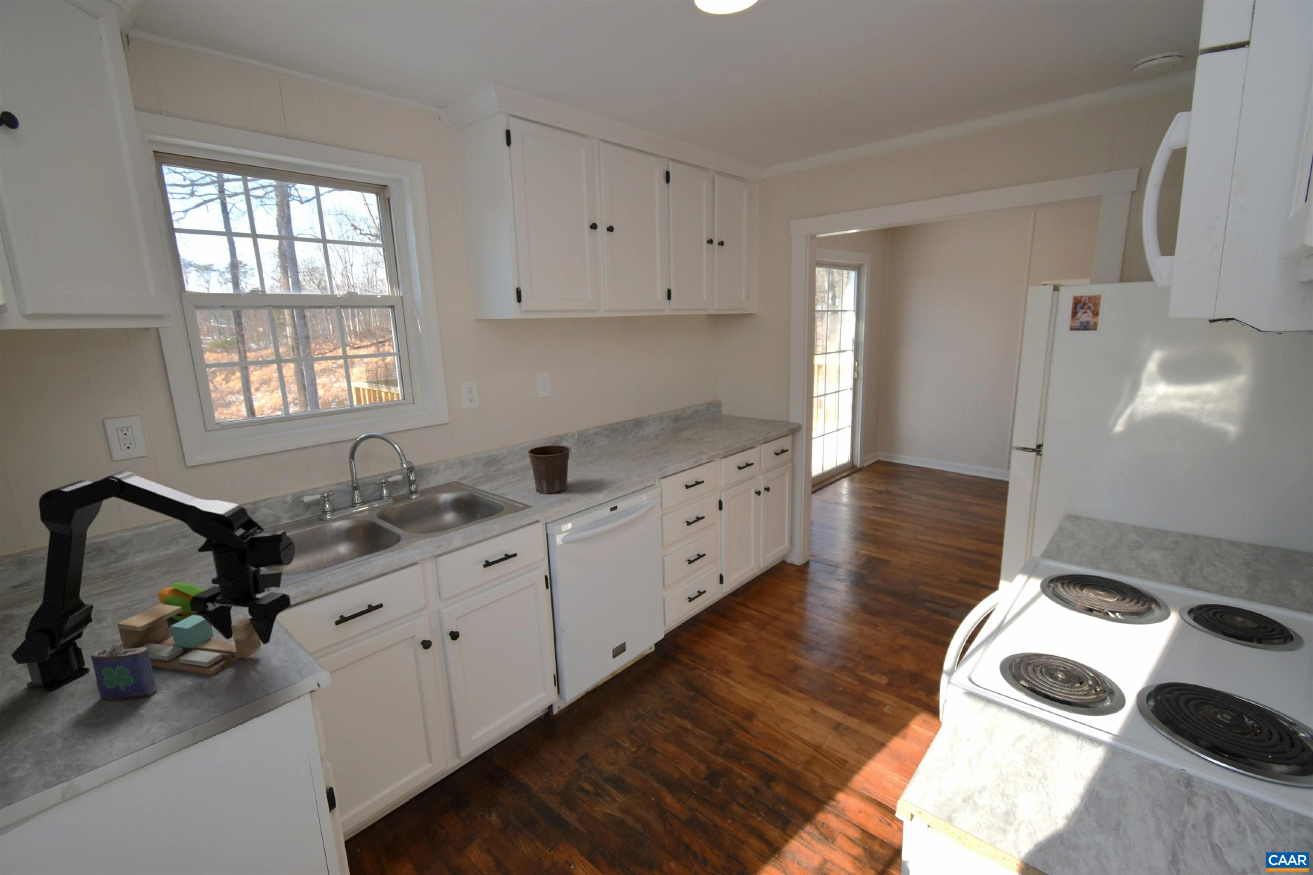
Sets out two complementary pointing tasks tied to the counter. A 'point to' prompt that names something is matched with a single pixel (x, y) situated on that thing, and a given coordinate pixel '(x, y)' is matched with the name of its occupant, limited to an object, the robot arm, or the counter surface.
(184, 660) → the strip
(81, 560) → the robot arm
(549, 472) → the plant pot
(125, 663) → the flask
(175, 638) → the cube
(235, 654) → the strip
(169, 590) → the corn
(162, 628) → the board
